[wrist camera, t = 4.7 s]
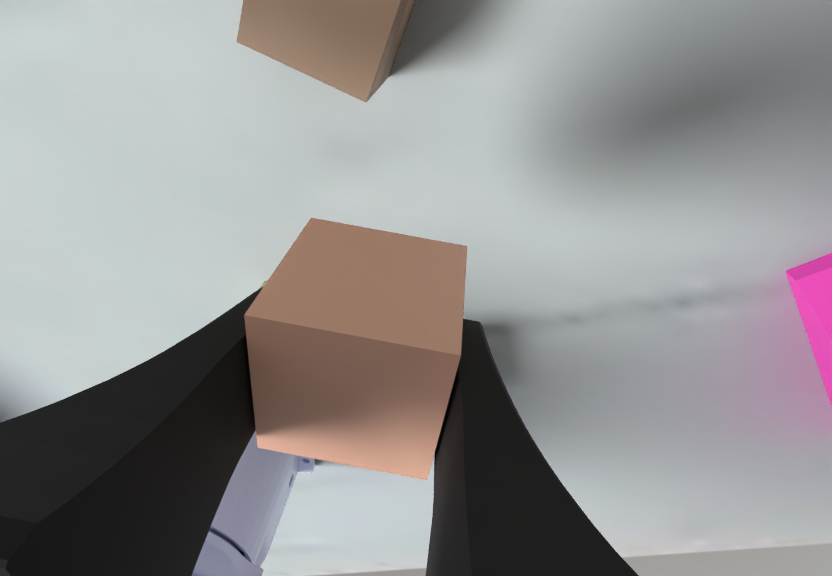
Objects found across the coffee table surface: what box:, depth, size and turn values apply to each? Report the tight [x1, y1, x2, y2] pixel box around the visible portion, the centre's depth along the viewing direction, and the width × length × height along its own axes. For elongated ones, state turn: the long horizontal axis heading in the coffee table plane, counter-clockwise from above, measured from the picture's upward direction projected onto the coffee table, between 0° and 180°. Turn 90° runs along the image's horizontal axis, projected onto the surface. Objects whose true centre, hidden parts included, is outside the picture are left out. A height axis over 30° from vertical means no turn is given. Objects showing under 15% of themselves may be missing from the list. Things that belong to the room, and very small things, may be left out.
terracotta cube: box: [244, 218, 467, 480], centre depth 11 cm, size 4×4×4 cm
